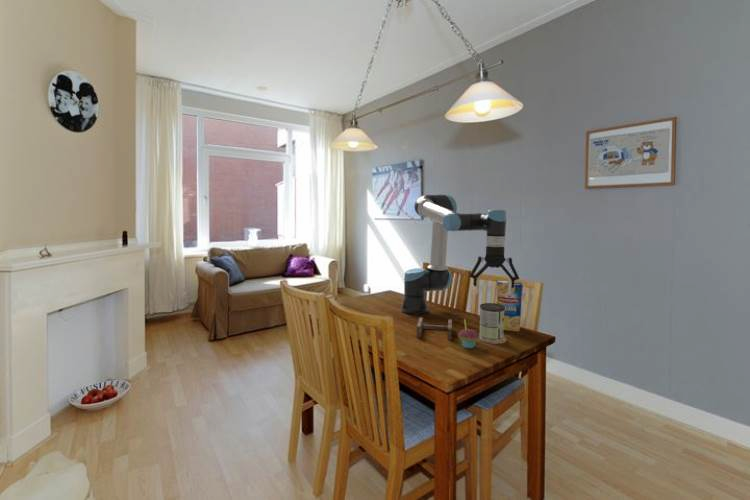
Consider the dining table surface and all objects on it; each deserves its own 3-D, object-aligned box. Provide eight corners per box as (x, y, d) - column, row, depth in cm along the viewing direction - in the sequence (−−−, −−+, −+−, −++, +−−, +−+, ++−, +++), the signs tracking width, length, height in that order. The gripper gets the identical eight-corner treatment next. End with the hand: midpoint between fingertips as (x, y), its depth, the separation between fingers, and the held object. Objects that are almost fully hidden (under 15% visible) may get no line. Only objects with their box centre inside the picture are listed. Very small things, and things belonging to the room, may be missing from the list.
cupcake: (458, 349, 147) (459, 320, 146) (457, 341, 156) (457, 314, 154) (480, 350, 146) (481, 321, 145) (477, 342, 155) (478, 315, 153)
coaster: (476, 333, 166) (476, 331, 166) (504, 335, 164) (504, 333, 164) (478, 342, 155) (478, 341, 155) (508, 344, 152) (508, 343, 152)
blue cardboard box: (496, 324, 179) (497, 280, 177) (519, 327, 175) (522, 282, 173) (495, 328, 173) (497, 283, 170) (520, 331, 169) (522, 285, 166)
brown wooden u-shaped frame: (419, 327, 175) (419, 317, 175) (451, 329, 172) (451, 319, 171) (416, 337, 161) (416, 326, 161) (451, 340, 158) (451, 328, 157)
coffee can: (478, 332, 165) (479, 302, 164) (501, 334, 163) (502, 303, 162) (479, 340, 155) (481, 308, 154) (505, 342, 153) (506, 309, 152)
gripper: (465, 245, 154) (463, 294, 156) (528, 247, 148) (525, 298, 151) (465, 244, 161) (463, 290, 164) (524, 245, 156) (521, 293, 158)
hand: (493, 294), depth 157 cm, fingers open, 13 cm apart
